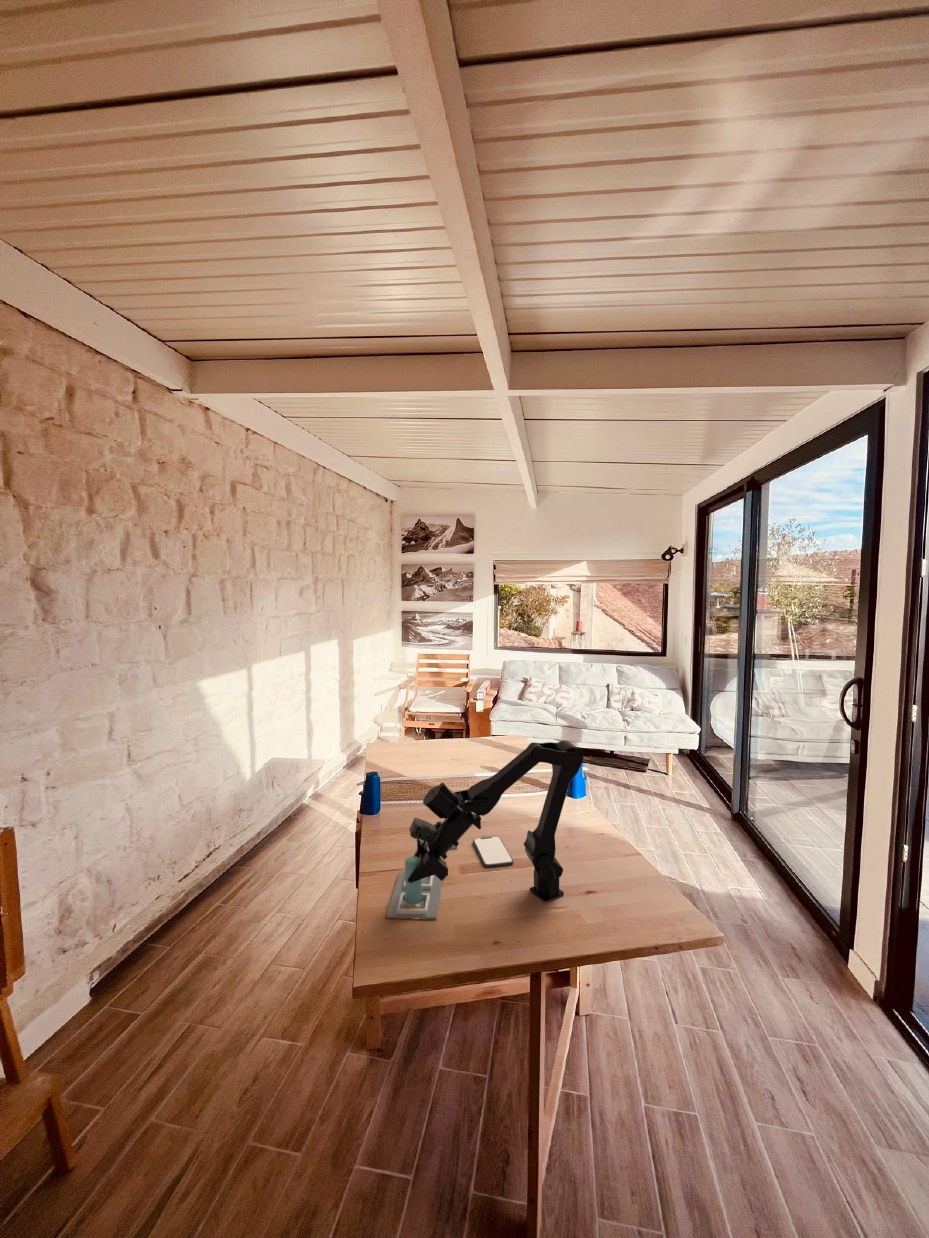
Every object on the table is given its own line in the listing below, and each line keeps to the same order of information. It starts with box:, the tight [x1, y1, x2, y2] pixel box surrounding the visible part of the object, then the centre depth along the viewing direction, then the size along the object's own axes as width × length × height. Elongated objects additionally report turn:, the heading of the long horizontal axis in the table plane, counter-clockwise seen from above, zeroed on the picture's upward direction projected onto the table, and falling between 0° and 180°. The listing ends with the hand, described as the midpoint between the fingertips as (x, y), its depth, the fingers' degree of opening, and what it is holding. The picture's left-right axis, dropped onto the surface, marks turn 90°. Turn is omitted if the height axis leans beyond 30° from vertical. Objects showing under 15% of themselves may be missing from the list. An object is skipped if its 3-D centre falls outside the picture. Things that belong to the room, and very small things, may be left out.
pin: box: [404, 855, 422, 905], centre depth 137 cm, size 4×4×10 cm
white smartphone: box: [472, 835, 514, 869], centre depth 165 cm, size 9×2×16 cm
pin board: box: [385, 871, 443, 920], centre depth 143 cm, size 20×12×2 cm, turn 178°
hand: (407, 876), depth 136 cm, fingers closed on pin, 4 cm apart
